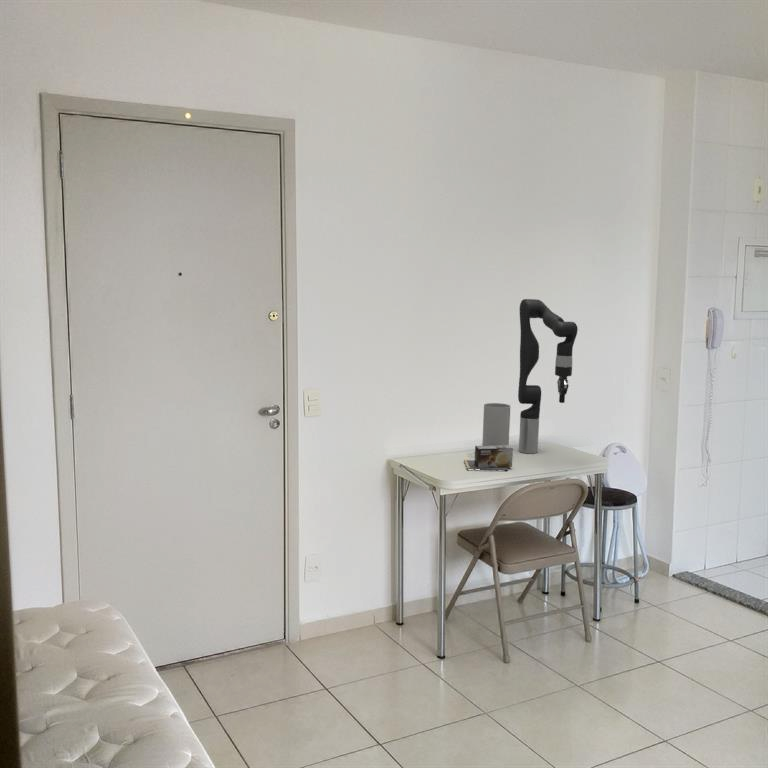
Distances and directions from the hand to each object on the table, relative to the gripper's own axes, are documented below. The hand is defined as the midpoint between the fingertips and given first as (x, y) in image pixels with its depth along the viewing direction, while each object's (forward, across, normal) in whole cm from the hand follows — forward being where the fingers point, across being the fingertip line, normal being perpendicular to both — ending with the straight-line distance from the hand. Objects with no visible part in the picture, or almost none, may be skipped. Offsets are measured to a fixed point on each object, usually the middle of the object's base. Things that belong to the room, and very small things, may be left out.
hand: (561, 402), depth 364 cm
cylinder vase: (+29, -12, -28) cm, 42 cm away
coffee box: (+24, +9, -24) cm, 35 cm away
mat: (+29, +8, -35) cm, 46 cm away
